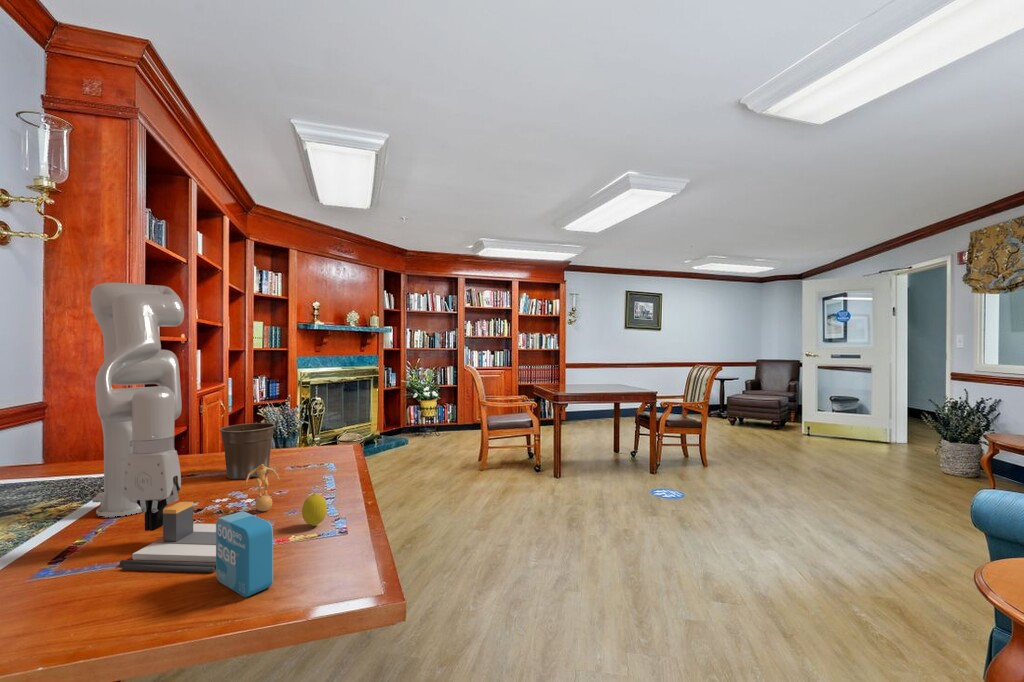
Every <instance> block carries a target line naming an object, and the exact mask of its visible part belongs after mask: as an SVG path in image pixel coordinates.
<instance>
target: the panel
mask: <svg viewBox="0 0 1024 682" xmlns="http://www.w3.org/2000/svg"><path fill="white" fill-rule="evenodd" d="M132 560H135V561H167V562H200V563H216V523H194V522H193V532H192V533H191V534H189V535H187V536H185V537H183V538H182V539H180V540H178V541H163V536H160V537H159V538H157V539H155V540H154V541H152V542H151V543H150V544H148V545H146V546H144V547H142V548H141V549H139V550H137V551H135V552H133V553H132Z"/></svg>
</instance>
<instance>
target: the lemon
mask: <svg viewBox="0 0 1024 682" xmlns="http://www.w3.org/2000/svg"><path fill="white" fill-rule="evenodd" d="M327 511H328V505H327V501H326V499H325V497H323V496H322V495H320V494H318V493H316V492H314V493H312V494H311V495H309V496H307V498H305V500H304V502H303V504H302V508H301V515H302V519H303V521H304V522H305V523H306V524H308V525H310V526H312V527H313V526H315V527H317V526H318V525H319V524H321V523H322V522H323V521H324V519H325V518H326V516H327Z"/></svg>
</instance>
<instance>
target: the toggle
mask: <svg viewBox="0 0 1024 682" xmlns="http://www.w3.org/2000/svg"><path fill="white" fill-rule="evenodd" d="M193 523H194V502H193V501H179V502H176V503H174V504H173V505H170V506H168V507H166V508H165V509H163V526H162V537H163V541H178V540H180V539H182V538H183V537H185V536H187V535H189V534H191V533H192V532H193Z"/></svg>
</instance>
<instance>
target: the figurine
mask: <svg viewBox="0 0 1024 682" xmlns="http://www.w3.org/2000/svg"><path fill="white" fill-rule="evenodd" d="M266 470H269V472H273V474H274V475H275V476H276V477H277V479H278V481H280V477H279V474H278V473H277V471H276V470H275V469H273V468H271V467H269V468H268V467H265V466H264V464H261V465H260V466H258V467H257V468H256V469H254V470H253V471H251V472H250V473H249V474H248V476H247V479H245V482H244V486H245V487H247V486H248V484H249V482H248V481H249V480H250V478H249V476H250V475H251V474H253V473H254V472H257V474H258V476H259V477H256V484H257V487H258V488H257V491H258V498H257V499H256V501H255V508H256V510H257V511H259V512H266V511H268V510H270V509H271V508H272V506H273V499H272V497H270V496H269V494H268V491H267V490H268V487H269V481H268V479H269V477H268V476H266V475H265V473H266ZM262 482H263V483H262ZM263 484H264V485H265V487H264V495H262V491H261V490H262V488H261V487H262V485H263Z"/></svg>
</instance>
